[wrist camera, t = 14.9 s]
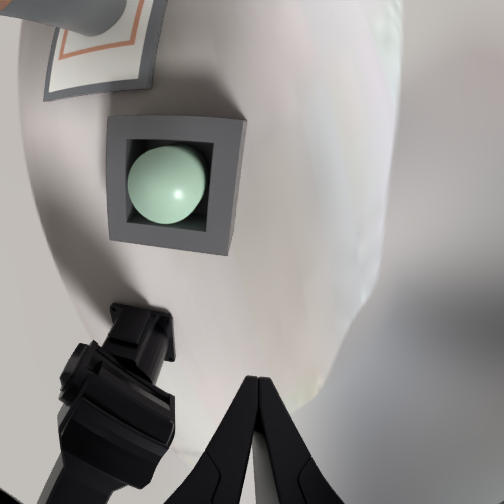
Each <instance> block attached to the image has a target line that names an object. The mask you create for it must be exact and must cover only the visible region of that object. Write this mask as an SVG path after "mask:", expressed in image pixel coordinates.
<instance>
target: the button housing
mask: <svg viewBox="0 0 504 504" xmlns="http://www.w3.org/2000/svg"><path fill="white" fill-rule="evenodd" d="M246 127H247V121H245V120H237V119H227V118H215V117H201V116H178V115H132V116H110V117H108V123H107V143H106V192H107V213H108V227H109V238H110V240H113V241H120V242H127V243H134V244H141V245H148V246H156V247H163V248H170V249H178V250H185V251H192V252H200V253H207V254H215V255H222V256H228V252H229V248H230V244H231V240H232V236H233V232H234V223H235V215H236V206H237V198H238V189H239V181H240V173H241V165H242V157H243V149H244V142H245V134H246ZM174 143H183V144H187V145H190V146H192V147H194V148H196V149H197V150H198V151H200V152H201V153H202V155H203V156H204V157H205V159H206V161H207V162H208V165H209V169H210V184H209V187H208V190H207V192H206V193H205V195H204V196H203V198H202V199H201V200H200V202H199V203H198V204H197V206H196V207H195V208H194V210H193V211H192V212H191V213H190V214H189V215H188V216H187V217H186V218H184V219H182V220H180V221H178V222H175V223H170V224H161V223H156V222H153V221H151V220H149V219H147V218H146V217H144V216H143V215H142V214H140V213H139V212H138V210H137V209H136V208H135V207H134V205H133V203H132V201H131V199H130V196H129V192H128V177H129V173H130V170H131V168H132V166H133V164H134V163H135V161H136V160H137V159H138V158H139V157H140V156H141V155H142V154H144V153H145V152H147V151H149V150H152V149H155V148H159V147H162V146H166V145H169V144H174Z"/></svg>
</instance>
